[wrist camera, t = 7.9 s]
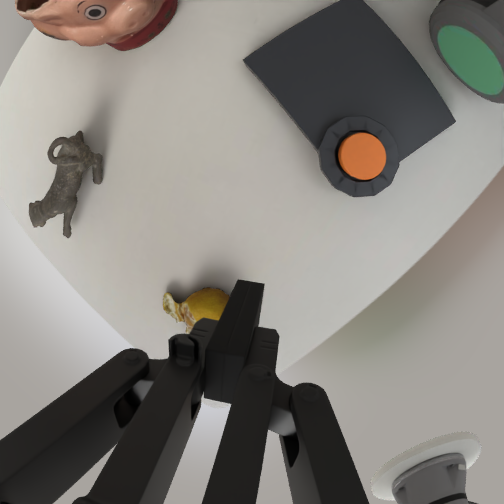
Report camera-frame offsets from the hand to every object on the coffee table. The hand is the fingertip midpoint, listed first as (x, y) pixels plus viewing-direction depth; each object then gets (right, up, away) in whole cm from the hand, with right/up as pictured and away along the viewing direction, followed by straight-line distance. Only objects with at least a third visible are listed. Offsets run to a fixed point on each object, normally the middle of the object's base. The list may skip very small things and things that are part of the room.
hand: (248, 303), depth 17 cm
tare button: (+9, +10, +5) cm, 15 cm away
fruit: (-6, -4, +15) cm, 17 cm away
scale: (+9, +18, +6) cm, 21 cm away
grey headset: (+25, +26, +1) cm, 37 cm away
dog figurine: (-19, +11, +13) cm, 25 cm away
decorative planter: (-13, +29, +6) cm, 33 cm away
